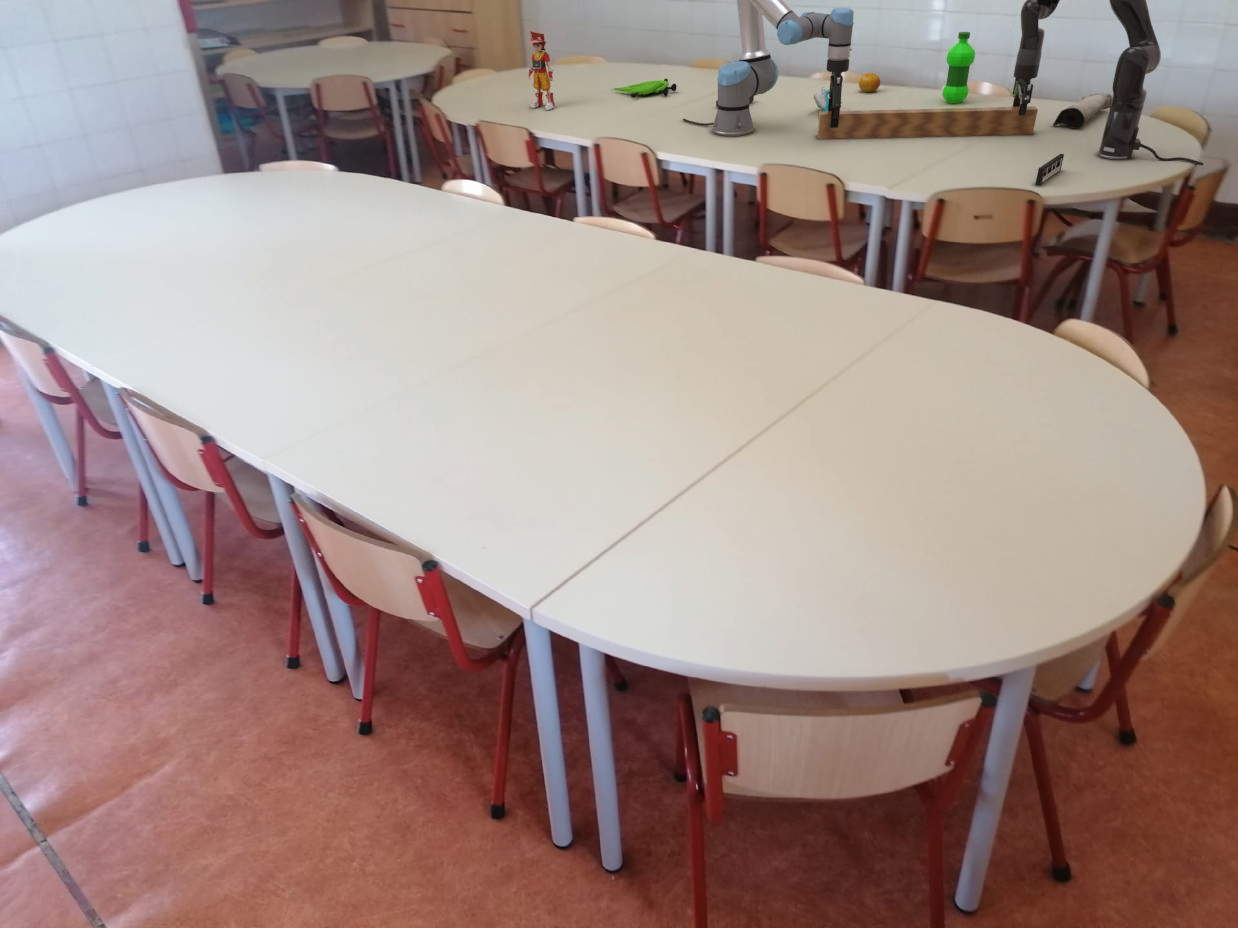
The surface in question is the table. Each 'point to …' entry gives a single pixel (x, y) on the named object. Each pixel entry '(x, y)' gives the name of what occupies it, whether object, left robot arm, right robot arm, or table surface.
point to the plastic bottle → (958, 69)
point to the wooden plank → (928, 122)
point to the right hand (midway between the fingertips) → (1018, 112)
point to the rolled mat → (1083, 110)
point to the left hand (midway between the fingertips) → (832, 122)
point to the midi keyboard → (1049, 169)
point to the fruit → (869, 82)
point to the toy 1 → (541, 71)
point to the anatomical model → (822, 99)
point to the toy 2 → (648, 88)
